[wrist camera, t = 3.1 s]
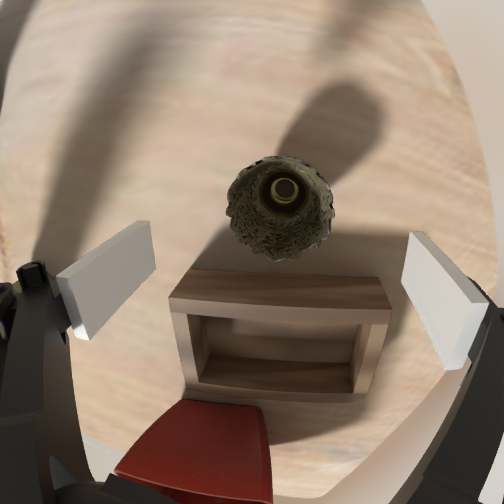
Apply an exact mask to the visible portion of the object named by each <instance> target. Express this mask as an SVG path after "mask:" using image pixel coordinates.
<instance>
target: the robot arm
mask: <svg viewBox="0 0 504 504" xmlns="http://www.w3.org/2000/svg"><path fill="white" fill-rule="evenodd" d="M155 269H156V264H155V258H154V251H153V244H152V236H151V228H150V221H136V222H135V223H133V224H131V225H130V226H128V227H127V228H125V229H124V230H122V231H120V232H119V233H117V234H116V235H114V236H113V237H111V238H110V239H108V240H107V241H105V242H104V243H102V244H101V245H99V246H98V247H96V248H95V249H93V250H92V251H90V252H89V253H87V254H86V255H85V256H83V257H82V258H80V259H79V260H77V261H76V262H75V263H73V264H72V265H70V266H69V267H68V268H66V269H65V270H63V271H62V272H61V273H59V274H58V275H57V276H55V277H56V278H55V279H54V280H53V281H51V282H49V278H48V275H47V271H46V268H45V264H44V262H43V261H33V262H30V263H27V264H25V265H23V266H21V267H20V268H18V269H17V271H16V273H17V276H18V280H19V283H20V286H21V289H22V292H21V293H15V292H14V289H13V286H12V283H9V282H6V283H0V326H1V328H2V331H3V333H4V335H5V336H4V338H2V336H1V333H0V504H180V503H178V502H176V501H174V500H172V499H170V498H168V497H166V496H165V495H163V494H161V493H159V492H157V491H156V490H154V489H152V488H150V487H147V486H144V485H141V484H138V483H135V482H132V481H130V480H127V479H124V478H122V477H119V476H116V475H114V474H111V473H110V474H109V476H108V478H107V480H106V481H105V482H96V481H95V480H94V478H93V477H92V474H91V472H90V469H89V467H88V462H87V459H86V454H85V450H84V445H83V441H82V436H81V431H80V426H79V420H78V415H77V409H76V402H75V395H74V388H73V380H72V370H71V360H70V346H69V337H68V334H67V331H66V330H67V329H68V328H69V327H70V326H72V329H73V331H74V334H75V337H77V338H81V339H84V340H88V341H90V340H91V339H92V337H93V336H94V335H95V334H96V333H97V332H98V331H99V330H100V328H101V327H102V326H103V325H104V324H105V323H106V322H107V321H108V320H109V318H110V317H111V316H112V315H113V314H114V313H115V312H116V311H117V310H118V309H119V307H120V306H121V305H122V304H123V303H124V302H125V301H126V300H127V299H128V298H129V297H130V296H131V295H132V294H133V292H134V291H135V290H136V289H137V288H138V287H139V286H140V285H141V284H142V283H143V282H144V281H145V280H146V279H147V278H148V277H149V276H150V275H151V274H152V273H153V272H154V270H155ZM401 283H402V285H403V287H404V289H405V291H406V292H407V294H408V296H409V298H410V300H411V302H412V304H413V306H414V308H415V309H416V311H417V313H418V315H419V317H420V319H421V321H422V323H423V325H424V327H425V329H426V331H427V333H428V336H429V338H430V340H431V342H432V344H433V346H434V348H435V350H436V353H437V355H438V357H439V359H440V362H441V364H442V366H443V368H444V370H454V369H461V368H462V366H463V364H464V362H465V360H466V358H467V356H469V358H470V360H471V362H472V363H471V365H470V367H469V369H468V371H467V373H466V375H465V377H464V379H463V381H462V382H461V384H460V386H461V388H460V389H459V392H458V394H457V396H456V398H455V400H454V402H453V404H452V406H451V408H450V410H449V412H448V414H447V416H446V418H445V420H444V421H443V423H442V425H441V427H440V429H439V430H438V432H437V434H436V436H435V437H434V439H433V441H432V442H431V444H430V446H429V447H428V449H427V450H426V452H425V454H424V455H423V457H422V459H421V460H420V461H419V463H418V465H417V466H416V467H415V469H414V470H413V472H412V473H411V475H410V476H409V477H408V479H407V480H406V482H405V483H404V484H403V486H402V487H401V488H400V490H399V491H398V492H397V494H396V495H395V496H394V498H393V499H392V500H391V501H390V503H389V504H483V503H481V502H478V498H479V495H480V492H481V490H482V488H483V486H484V484H485V481H486V479H487V477H488V474H489V472H490V469H491V467H492V464H493V462H494V459H495V456H496V454H497V451H498V448H499V445H500V442H501V439H502V436H503V433H504V308H498V307H497V306H496V305H495V304H494V302H493V301H492V300H491V299H490V298H489V296H488V295H486V293H485V292H484V291H483V290H481V287H480V286H479V285H478V284H477V283H476V282H475V281H474V280H472V279H470V278H469V277H467V276H466V275H465V274H464V273H463V272H462V271H461V270H460V269H459V268H458V267H457V266H456V265H455V264H454V262H453V261H452V260H451V259H450V258H449V257H448V256H447V255H446V254H445V253H444V252H443V251H442V250H441V249H440V248H439V247H438V246H437V245H436V244H435V243H434V242H433V241H432V240H431V239H430V238H429V237H428V236H427V235H426V234H425V233H424V232H413V231H410V235H409V241H408V247H407V253H406V258H405V263H404V269H403V274H402V278H401ZM502 504H504V497H503V502H502Z"/></svg>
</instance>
